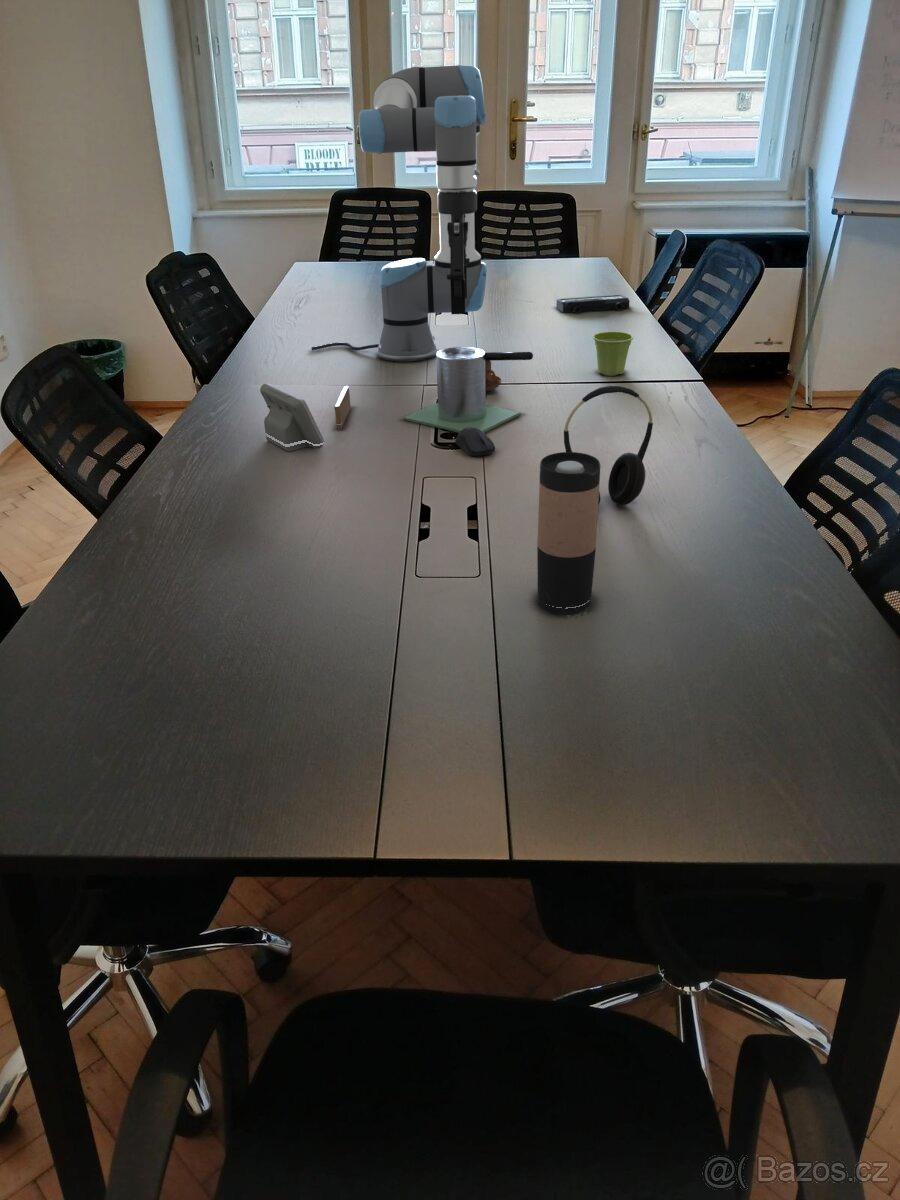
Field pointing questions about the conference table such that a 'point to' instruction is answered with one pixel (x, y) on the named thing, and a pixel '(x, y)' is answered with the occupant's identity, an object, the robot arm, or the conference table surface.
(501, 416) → the mat
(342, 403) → the wooden block
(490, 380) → the cup and saucer
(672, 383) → the conference table surface
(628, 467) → the headphones
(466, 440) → the computer mouse
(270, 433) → the digital clock
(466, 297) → the robot arm
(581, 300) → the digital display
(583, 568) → the travel mug
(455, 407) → the pot
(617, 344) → the plant pot
